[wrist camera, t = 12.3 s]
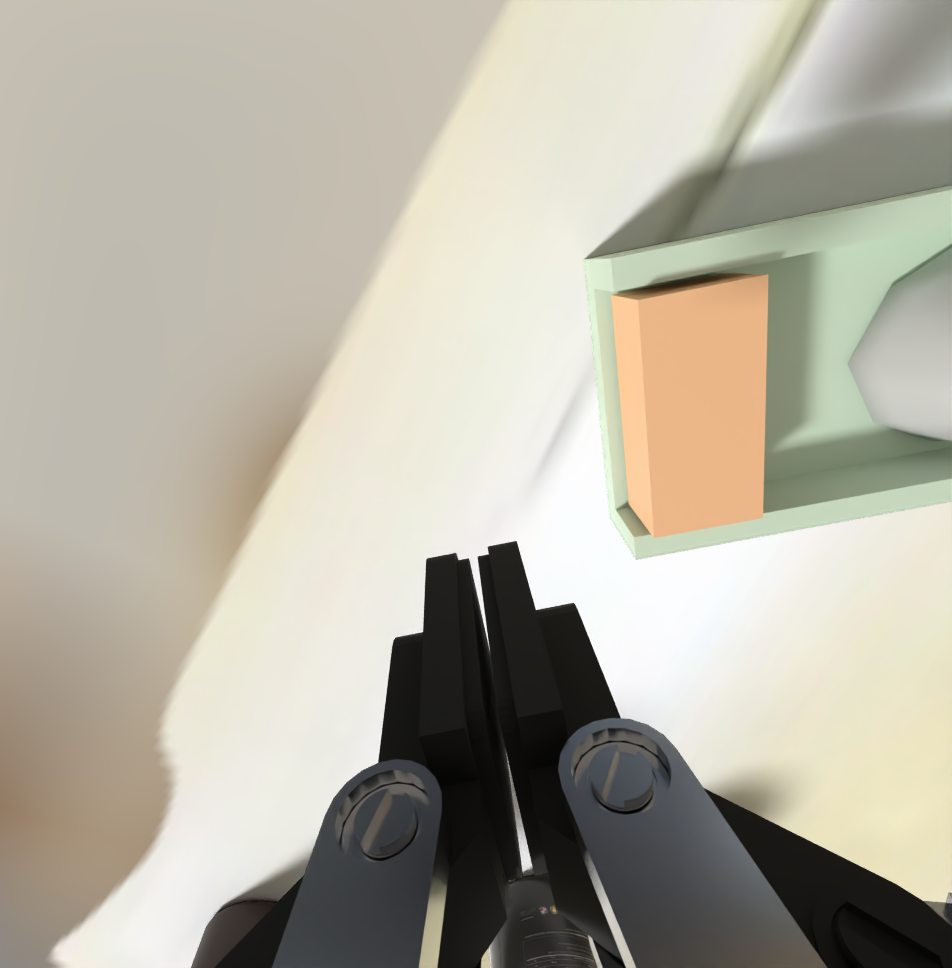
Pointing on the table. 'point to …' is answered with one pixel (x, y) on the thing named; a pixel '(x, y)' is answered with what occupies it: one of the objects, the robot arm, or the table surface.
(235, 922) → the vinegar
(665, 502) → the block
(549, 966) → the supplement bottle
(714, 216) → the table surface
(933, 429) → the flask
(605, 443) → the pale green shallow box
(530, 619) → the robot arm
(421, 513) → the table surface
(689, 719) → the table surface
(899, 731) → the table surface
